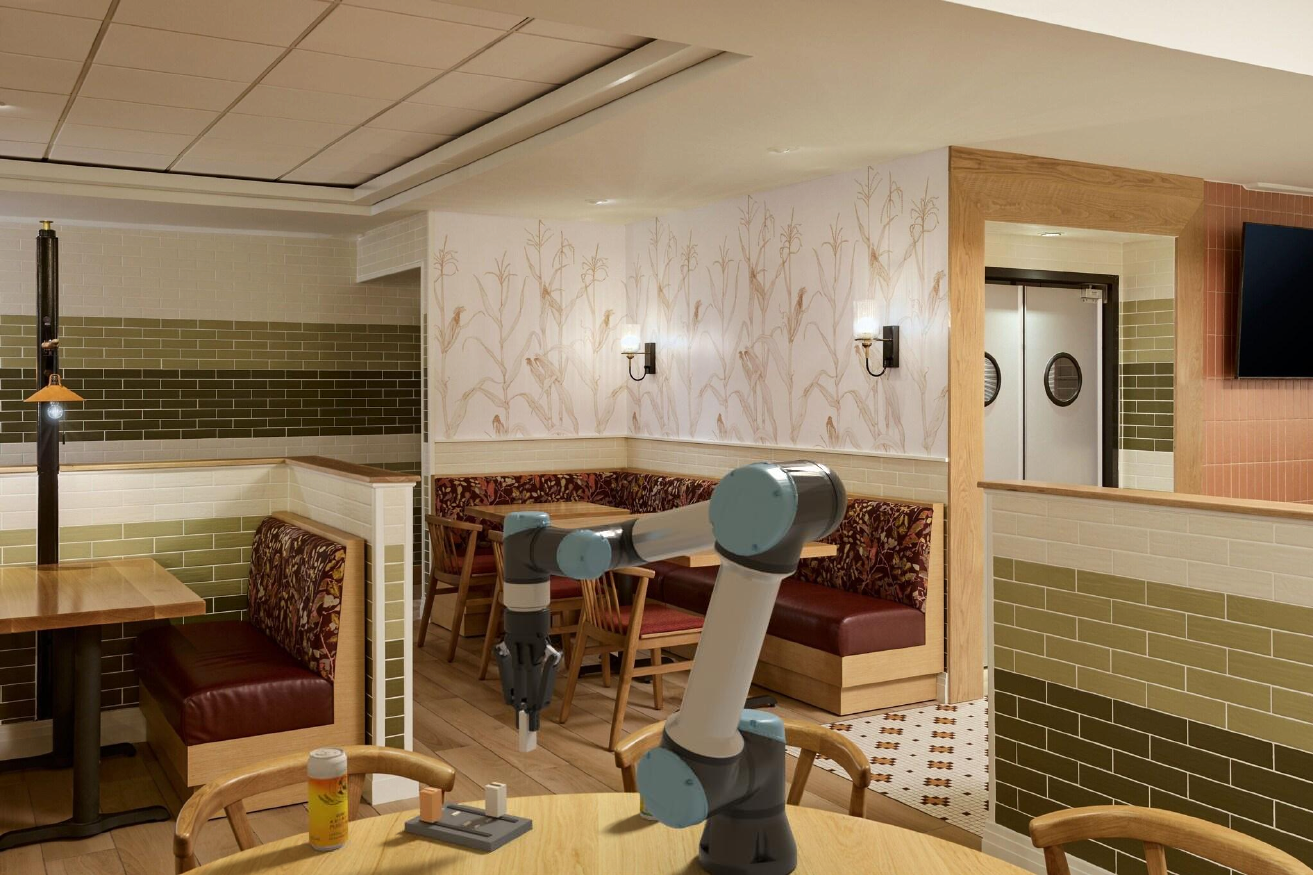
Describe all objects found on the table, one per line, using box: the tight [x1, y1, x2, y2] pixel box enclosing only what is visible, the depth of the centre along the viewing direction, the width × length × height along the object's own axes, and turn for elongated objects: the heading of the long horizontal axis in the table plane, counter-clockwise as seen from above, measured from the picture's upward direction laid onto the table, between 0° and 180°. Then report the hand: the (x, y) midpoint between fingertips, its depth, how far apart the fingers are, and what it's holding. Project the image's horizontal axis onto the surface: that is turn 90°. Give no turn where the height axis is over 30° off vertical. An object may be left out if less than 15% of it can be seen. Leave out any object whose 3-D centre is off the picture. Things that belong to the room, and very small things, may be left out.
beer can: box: [306, 746, 349, 852], centre depth 181 cm, size 6×6×15 cm
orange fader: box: [419, 786, 443, 823], centre depth 186 cm, size 3×2×5 cm
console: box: [404, 801, 533, 853], centre depth 187 cm, size 18×11×2 cm, turn 60°
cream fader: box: [484, 781, 508, 817], centre depth 189 cm, size 3×2×5 cm
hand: (527, 749), depth 185 cm, fingers closed
